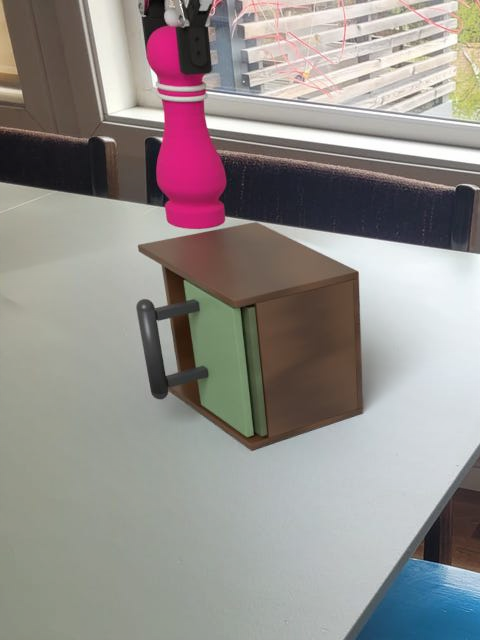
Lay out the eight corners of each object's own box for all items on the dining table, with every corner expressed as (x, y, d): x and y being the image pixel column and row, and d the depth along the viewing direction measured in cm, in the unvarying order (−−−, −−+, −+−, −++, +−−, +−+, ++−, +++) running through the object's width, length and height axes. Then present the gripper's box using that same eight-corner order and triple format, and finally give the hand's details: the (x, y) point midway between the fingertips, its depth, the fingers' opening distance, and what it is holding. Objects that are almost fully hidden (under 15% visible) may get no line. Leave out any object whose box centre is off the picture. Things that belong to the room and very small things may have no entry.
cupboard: (251, 450, 85) (234, 301, 77) (160, 385, 94) (137, 244, 86) (363, 413, 92) (359, 271, 83) (268, 355, 100) (256, 221, 92)
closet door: (192, 455, 82) (172, 323, 75) (147, 420, 87) (124, 292, 80) (254, 435, 85) (240, 307, 78) (207, 402, 90) (190, 278, 83)
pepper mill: (187, 235, 105) (161, 14, 93) (148, 218, 109) (119, 3, 96) (243, 223, 110) (225, 10, 97) (204, 207, 113) (182, 1, 101)
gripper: (71, -169, 92) (105, 55, 103) (162, -160, 82) (188, 86, 93) (146, -163, 96) (171, 51, 107) (242, -155, 86) (257, 80, 97)
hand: (179, 65), depth 100 cm, fingers closed on pepper mill, 6 cm apart
